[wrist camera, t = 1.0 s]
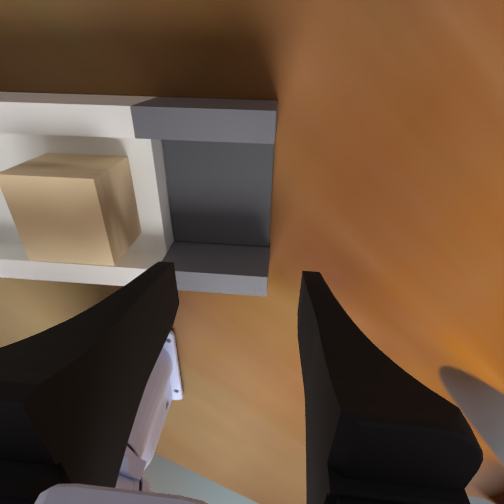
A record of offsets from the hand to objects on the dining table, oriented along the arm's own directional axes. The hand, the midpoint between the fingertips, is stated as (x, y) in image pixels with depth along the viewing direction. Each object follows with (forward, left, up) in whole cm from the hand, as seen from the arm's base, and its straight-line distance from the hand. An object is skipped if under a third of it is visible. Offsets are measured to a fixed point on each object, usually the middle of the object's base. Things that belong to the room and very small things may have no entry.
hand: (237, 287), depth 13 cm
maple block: (0, +10, -8) cm, 13 cm away
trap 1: (0, +3, -10) cm, 11 cm away
